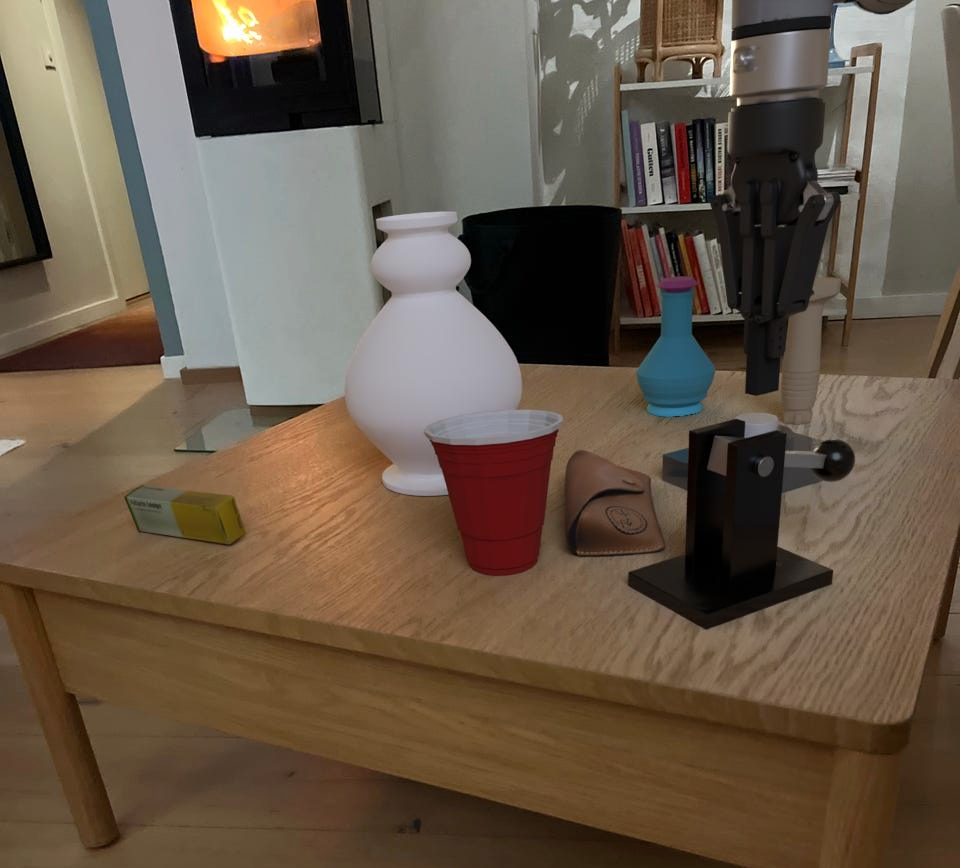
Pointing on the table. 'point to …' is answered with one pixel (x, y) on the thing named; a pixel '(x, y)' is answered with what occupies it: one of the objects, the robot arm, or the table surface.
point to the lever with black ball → (797, 458)
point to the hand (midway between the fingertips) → (761, 391)
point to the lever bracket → (731, 535)
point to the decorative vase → (424, 352)
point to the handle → (805, 354)
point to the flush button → (758, 423)
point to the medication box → (185, 514)
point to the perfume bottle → (676, 356)
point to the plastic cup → (497, 483)
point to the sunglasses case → (609, 509)
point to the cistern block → (793, 476)
